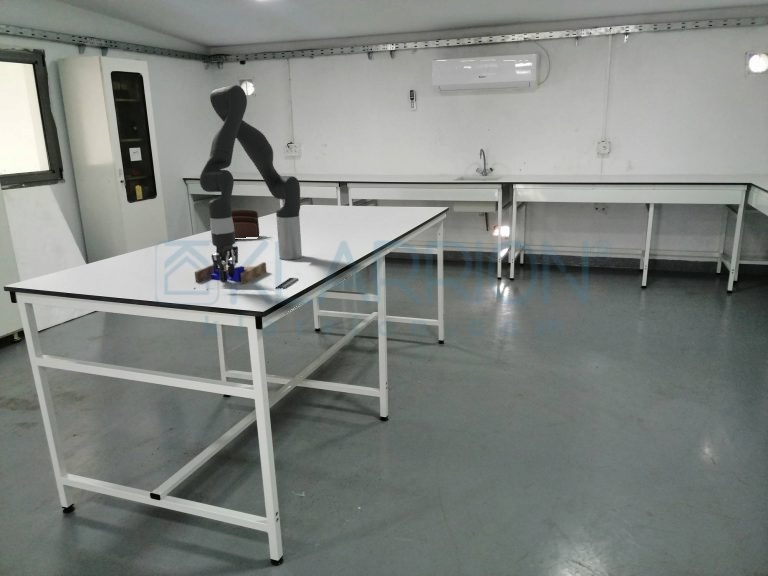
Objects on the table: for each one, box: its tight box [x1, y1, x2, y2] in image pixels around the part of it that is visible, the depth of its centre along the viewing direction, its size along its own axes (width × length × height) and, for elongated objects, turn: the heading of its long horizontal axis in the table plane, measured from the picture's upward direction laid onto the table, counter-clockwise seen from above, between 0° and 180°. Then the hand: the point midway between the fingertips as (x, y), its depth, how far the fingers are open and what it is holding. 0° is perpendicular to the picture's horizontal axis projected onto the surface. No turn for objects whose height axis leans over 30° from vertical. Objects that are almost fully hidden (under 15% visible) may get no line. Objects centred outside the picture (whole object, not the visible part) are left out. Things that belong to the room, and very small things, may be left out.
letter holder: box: [231, 209, 260, 238], centre depth 277 cm, size 10×20×14 cm, turn 97°
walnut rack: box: [194, 261, 268, 285], centre depth 193 cm, size 17×18×5 cm
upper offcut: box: [226, 265, 256, 275], centre depth 198 cm, size 5×11×2 cm, turn 91°
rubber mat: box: [275, 277, 299, 289], centre depth 189 cm, size 12×11×1 cm
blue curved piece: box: [210, 264, 245, 283], centre depth 190 cm, size 12×4×6 cm, turn 57°
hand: (228, 279), depth 190 cm, fingers closed on blue curved piece, 5 cm apart
